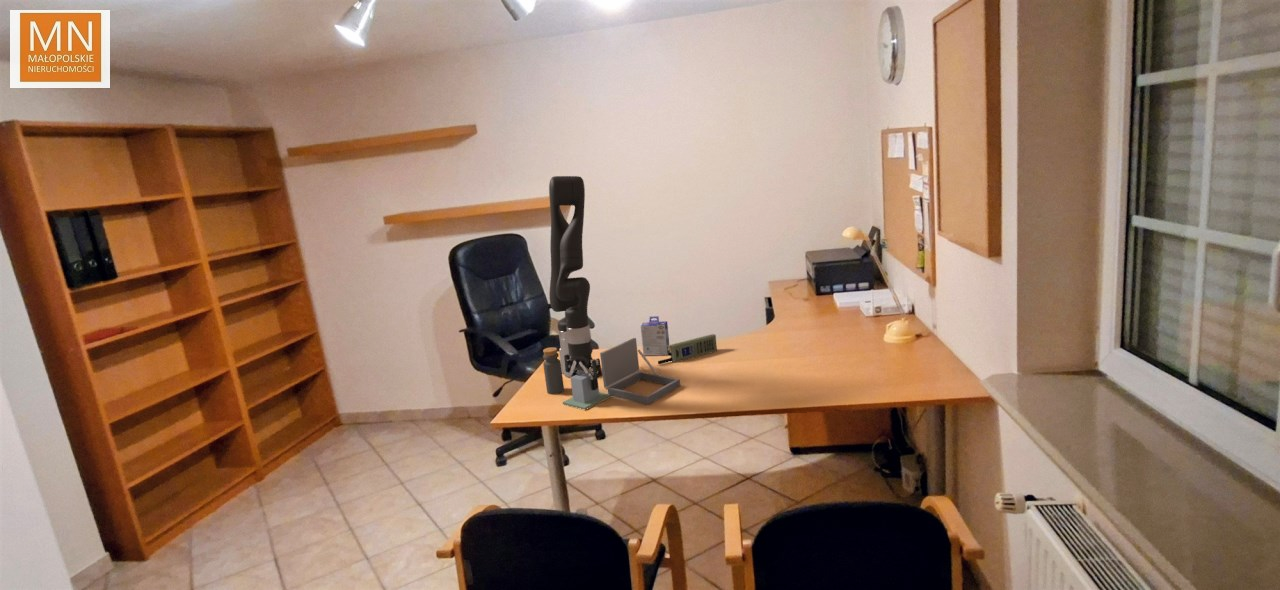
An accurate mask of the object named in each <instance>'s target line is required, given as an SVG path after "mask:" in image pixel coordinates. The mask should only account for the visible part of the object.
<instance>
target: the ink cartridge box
mask: <svg viewBox="0 0 1280 590" xmlns="http://www.w3.org/2000/svg"><path fill="white" fill-rule="evenodd" d="M652 319H653V320H652ZM655 319H656V320H655ZM640 333H641V343H642V346H641V347H642V353H643V355H644V356H645V357H647V356H669V355H668V353H670V350H668V348H670V347H668V345H670V338H669V337H670V335H669V327H668V321H666V320H665V321H660V319H659V316H656V315H655V316H649V320H648V321H647V322H642V324H641V325H640Z"/></svg>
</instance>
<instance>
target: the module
mask: <svg viewBox="0 0 1280 590" xmlns="http://www.w3.org/2000/svg"><path fill="white" fill-rule="evenodd" d="M591 373H592V372H591ZM592 375H594V374H593V373H592ZM590 380H591V379H590V377H589V375H588V374H586V373H585V371H583V372H581V373H579V374H577V375H575V376H573V377H570V385H571V392H572V397H573V401H576V402H580V403H584V404H585V403H587V402H589V401H590V400H592V399H594V398H596V397H598V396H600V395H599V392H600V389H599V388H600V387H599V386H598V388H597V389H596V390H591V382H590ZM597 380H599V378H597Z"/></svg>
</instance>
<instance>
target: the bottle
mask: <svg viewBox="0 0 1280 590" xmlns="http://www.w3.org/2000/svg"><path fill="white" fill-rule="evenodd" d="M542 352H543V355H542V357H543V359H544V361H543V362H542V365H543V372H544V373H543V374H544V381H545V387H546V393H547V394H549V395H557V394H561V393H563V392H564V391H565V388H564V387H565V385H564V379H563V378H564V377H563V374H562V369H561V361H560V359H559V358H558V357H560V354H559V353H558V348H557V347H546V348H544V349H543V350H542Z"/></svg>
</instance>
